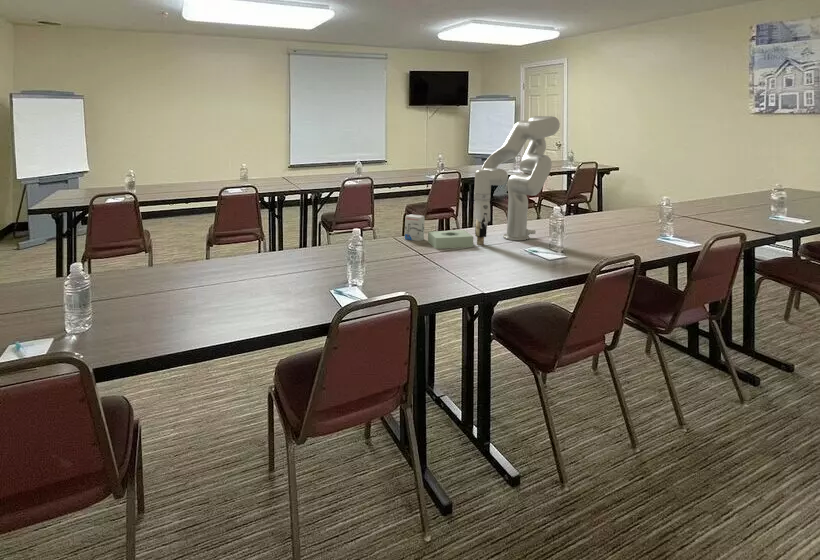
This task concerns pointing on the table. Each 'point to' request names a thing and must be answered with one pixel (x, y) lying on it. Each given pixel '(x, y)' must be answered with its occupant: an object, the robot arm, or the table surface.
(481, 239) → the peg
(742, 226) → the table surface
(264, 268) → the table surface
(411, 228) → the ink box
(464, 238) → the board
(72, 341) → the table surface
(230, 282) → the table surface
